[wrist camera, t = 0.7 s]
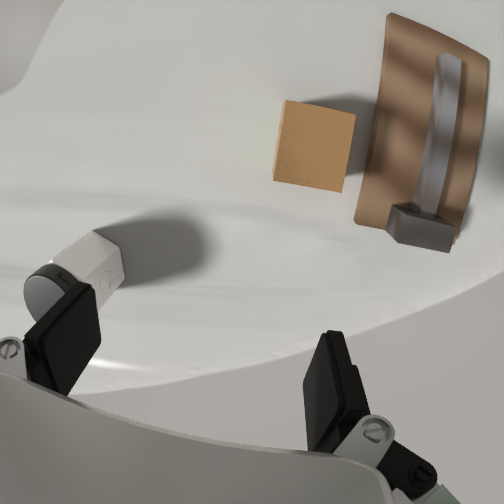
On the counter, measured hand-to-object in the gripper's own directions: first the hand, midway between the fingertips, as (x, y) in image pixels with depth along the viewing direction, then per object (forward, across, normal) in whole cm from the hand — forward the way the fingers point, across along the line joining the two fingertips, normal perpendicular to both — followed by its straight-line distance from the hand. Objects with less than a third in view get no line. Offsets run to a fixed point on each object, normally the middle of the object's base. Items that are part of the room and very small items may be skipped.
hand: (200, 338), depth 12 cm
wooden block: (+24, -5, -7) cm, 25 cm away
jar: (+24, +18, +11) cm, 32 cm away
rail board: (+24, -19, -13) cm, 33 cm away
